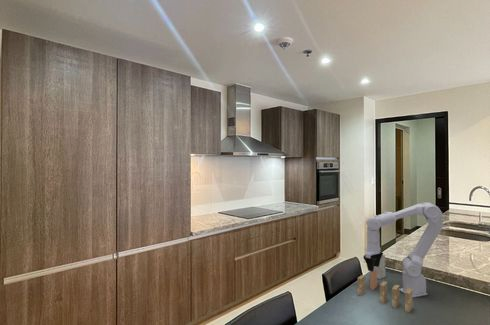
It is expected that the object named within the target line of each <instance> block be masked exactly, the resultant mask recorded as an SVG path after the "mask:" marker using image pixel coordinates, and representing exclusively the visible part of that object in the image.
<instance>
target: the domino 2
mask: <svg viewBox="0 0 490 325" xmlns="http://www.w3.org/2000/svg"><path fill="white" fill-rule="evenodd" d="M377 287H378V279H377V270H373V272H372V271H369V289H370V290H372V291H374V290H375V289H376V288H377Z"/></svg>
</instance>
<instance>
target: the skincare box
mask: <svg viewBox="0 0 490 325" xmlns="http://www.w3.org/2000/svg"><path fill="white" fill-rule="evenodd" d="M374 270H377V280H381V279H384V278H386V255H385V254H384V253H383V255H382V257H381V260H380V264H379V267H376V266H374Z"/></svg>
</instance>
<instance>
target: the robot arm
mask: <svg viewBox="0 0 490 325" xmlns="http://www.w3.org/2000/svg"><path fill="white" fill-rule="evenodd" d="M410 216H419V217H420V216H421V217H425V220H426V221H427V223H428V224H427V226H426V227H425V229H424V231H423V232H422V235H421V237H420V238H419V240H418V241H417V243H416V244H415V246H414V248H413V250H412V252H409V254H408V255H407V256H405V257H404V258H403V259H402V261H401V265H402V267H403V270H402V287H401V288H400V292H402V294H403V293H404V294H405V292H406V290H407V289H408V288H409V289H413V298H417V297H422V296H427V295H429V294H428V293H427V279H426V277H425V275H424V274H423V273H422V268H423V265H424V259H425V257H426V255H427V254H428V252H429V251H430V249H431V248H432V246H433V245H434V242H435V241H436V239H437V238H438V236H439V234H440V233H441V232H442V229H443V227H444V224H443V212H442V210H441V209H440V208H439V206H438V205H435V204H433V203H431V202H428V201H424V202H421V203H416V204H414V205H412V206H409V207H406V208H403V209H401V210H398V211H395V212H391V211H384V213H381V214H378V215H377V214H375V215H374V216H370V217H367V220H366V221H365V224H366V225H367V228H366V247H365V248H364V251H366V252H365V254H364V255H363V259H364V261H365V264H366V267H367V271H369V272H371V271H372V272H373V270H374V266H376V267H379V264H380V260H381V257H382V255H383V254H384V252H383V251H381V249H382V247H381V246H380V245H381V244H380V240H381V239H380V236H381V235H380V228H383V227H386V226H390V225H393V224H396V221H397V220H399V219H403V218H407V217H410Z"/></svg>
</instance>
